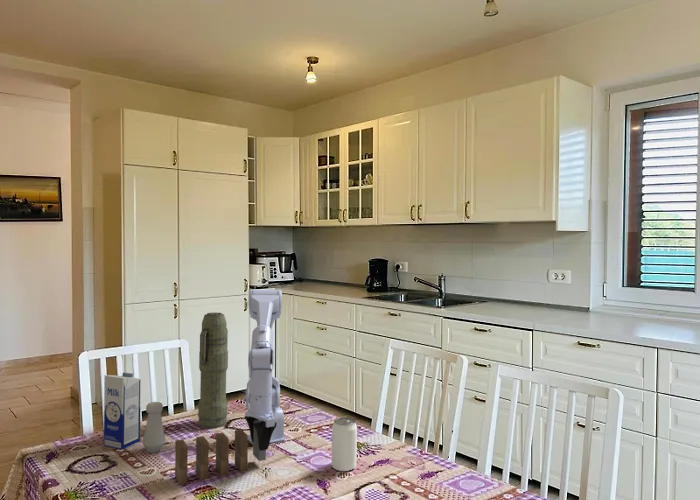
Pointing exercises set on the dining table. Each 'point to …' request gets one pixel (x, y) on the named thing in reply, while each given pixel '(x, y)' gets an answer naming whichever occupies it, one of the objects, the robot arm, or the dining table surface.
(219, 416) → the thermos
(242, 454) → the domino
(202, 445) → the domino
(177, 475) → the domino
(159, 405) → the salt shaker
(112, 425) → the milk carton
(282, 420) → the robot arm
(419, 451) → the dining table surface
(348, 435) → the can
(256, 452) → the domino
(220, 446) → the domino
